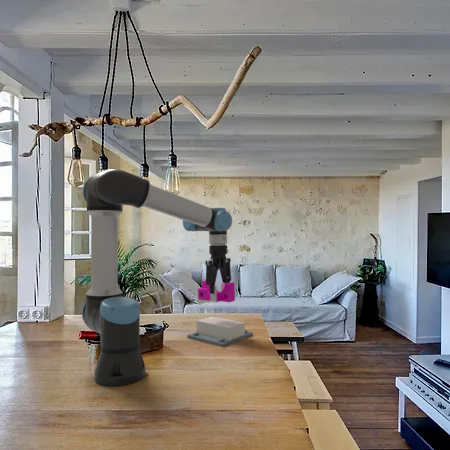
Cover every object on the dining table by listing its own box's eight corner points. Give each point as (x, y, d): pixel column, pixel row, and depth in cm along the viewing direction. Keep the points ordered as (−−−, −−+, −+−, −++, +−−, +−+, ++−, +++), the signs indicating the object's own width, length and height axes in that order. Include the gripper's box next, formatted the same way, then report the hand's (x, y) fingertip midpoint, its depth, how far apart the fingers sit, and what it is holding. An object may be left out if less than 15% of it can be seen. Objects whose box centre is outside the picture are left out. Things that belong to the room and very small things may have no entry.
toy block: (198, 299, 159) (197, 281, 159) (207, 296, 164) (207, 279, 164) (225, 303, 150) (224, 284, 150) (234, 300, 154) (234, 282, 154)
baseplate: (222, 346, 142) (222, 330, 143) (187, 337, 155) (187, 322, 155) (252, 335, 158) (252, 320, 158) (218, 327, 170) (218, 314, 170)
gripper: (209, 246, 146) (210, 305, 146) (239, 243, 161) (240, 297, 161) (195, 245, 151) (196, 302, 151) (225, 243, 166) (226, 295, 166)
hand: (219, 299), depth 156 cm, fingers closed on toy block, 6 cm apart
